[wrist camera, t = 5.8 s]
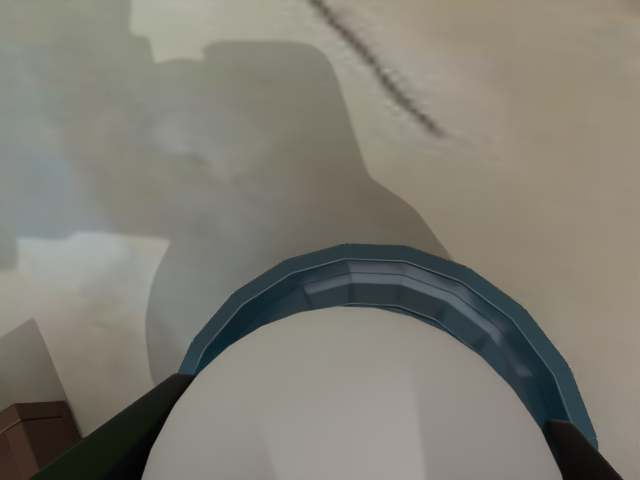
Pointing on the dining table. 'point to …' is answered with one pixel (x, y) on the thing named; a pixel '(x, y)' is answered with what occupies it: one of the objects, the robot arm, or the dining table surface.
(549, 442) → the robot arm
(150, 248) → the dining table surface
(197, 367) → the bowl
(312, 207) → the dining table surface
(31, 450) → the tray
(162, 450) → the lightbulb
